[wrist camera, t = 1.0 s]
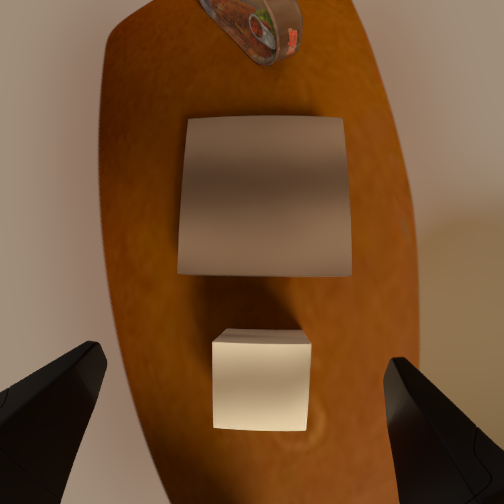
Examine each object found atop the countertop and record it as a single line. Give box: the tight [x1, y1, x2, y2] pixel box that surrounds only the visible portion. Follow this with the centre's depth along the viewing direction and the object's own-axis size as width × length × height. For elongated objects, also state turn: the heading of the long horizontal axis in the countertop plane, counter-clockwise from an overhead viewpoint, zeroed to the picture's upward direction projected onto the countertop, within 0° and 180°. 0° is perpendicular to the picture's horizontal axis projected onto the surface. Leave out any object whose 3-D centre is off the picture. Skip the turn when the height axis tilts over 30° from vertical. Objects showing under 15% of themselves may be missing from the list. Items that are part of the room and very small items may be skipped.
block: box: [212, 329, 311, 431], centre depth 17 cm, size 5×5×5 cm
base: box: [177, 115, 352, 277], centre depth 19 cm, size 10×10×3 cm
